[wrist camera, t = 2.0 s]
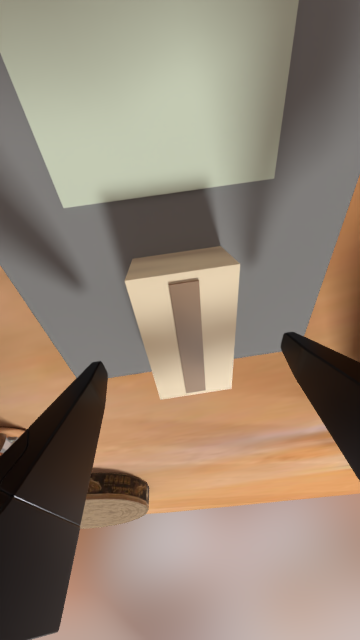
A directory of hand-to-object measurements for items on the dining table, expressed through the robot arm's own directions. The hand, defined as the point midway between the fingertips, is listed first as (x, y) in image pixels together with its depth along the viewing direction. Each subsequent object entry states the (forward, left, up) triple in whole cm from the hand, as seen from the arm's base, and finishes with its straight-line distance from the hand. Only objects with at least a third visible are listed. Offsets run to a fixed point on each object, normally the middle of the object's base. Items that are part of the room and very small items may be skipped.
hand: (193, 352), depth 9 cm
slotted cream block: (0, 0, -3) cm, 3 cm away
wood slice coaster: (-31, +17, -4) cm, 36 cm away
